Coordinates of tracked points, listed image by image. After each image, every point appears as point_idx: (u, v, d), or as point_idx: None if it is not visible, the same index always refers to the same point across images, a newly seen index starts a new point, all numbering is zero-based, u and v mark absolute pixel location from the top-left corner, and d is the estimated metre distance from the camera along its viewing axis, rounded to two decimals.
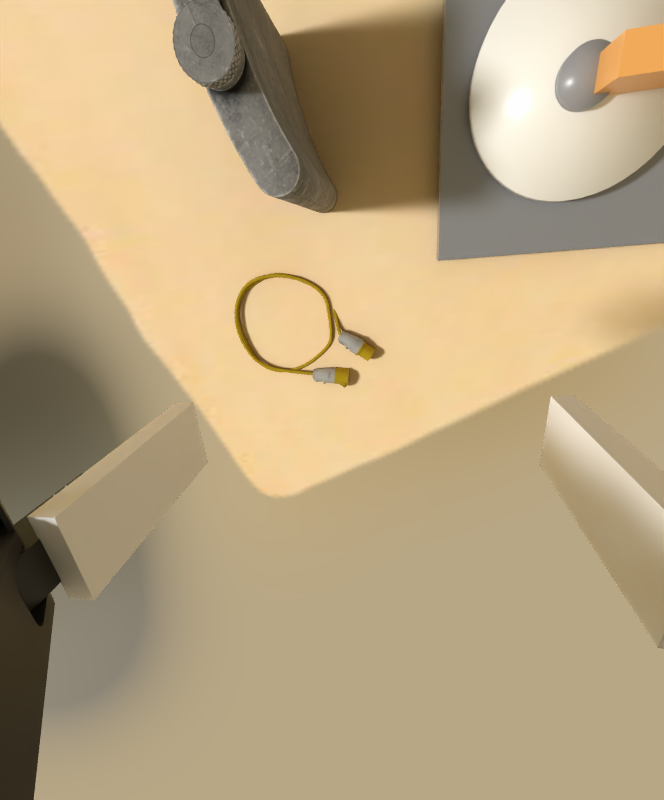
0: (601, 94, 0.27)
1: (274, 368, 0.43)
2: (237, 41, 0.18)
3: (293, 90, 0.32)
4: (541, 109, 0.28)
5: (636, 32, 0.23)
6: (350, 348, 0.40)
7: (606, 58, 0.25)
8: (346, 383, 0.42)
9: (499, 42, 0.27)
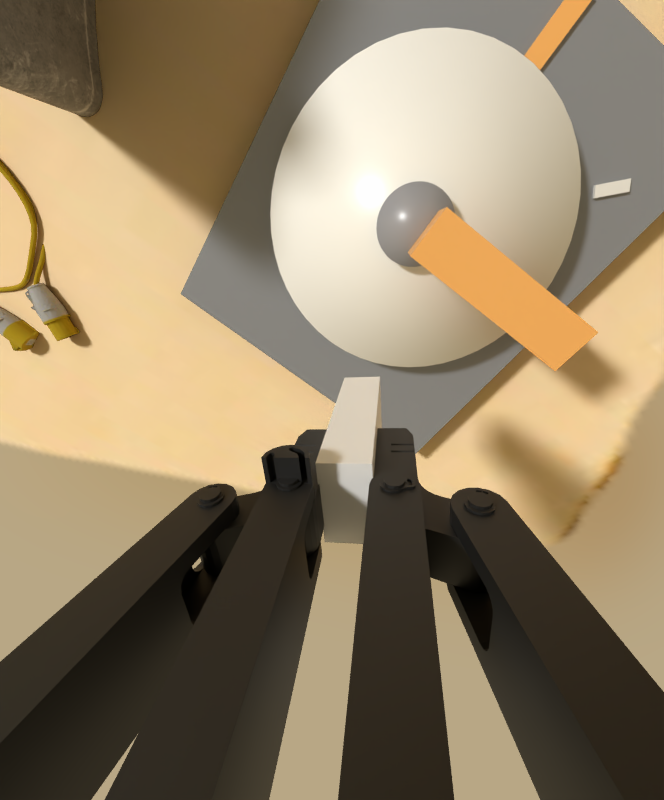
0: (414, 259, 0.20)
1: None
2: None
3: None
4: (356, 219, 0.20)
5: (453, 221, 0.16)
6: (36, 311, 0.27)
7: (431, 223, 0.18)
8: (19, 348, 0.29)
9: (354, 88, 0.18)
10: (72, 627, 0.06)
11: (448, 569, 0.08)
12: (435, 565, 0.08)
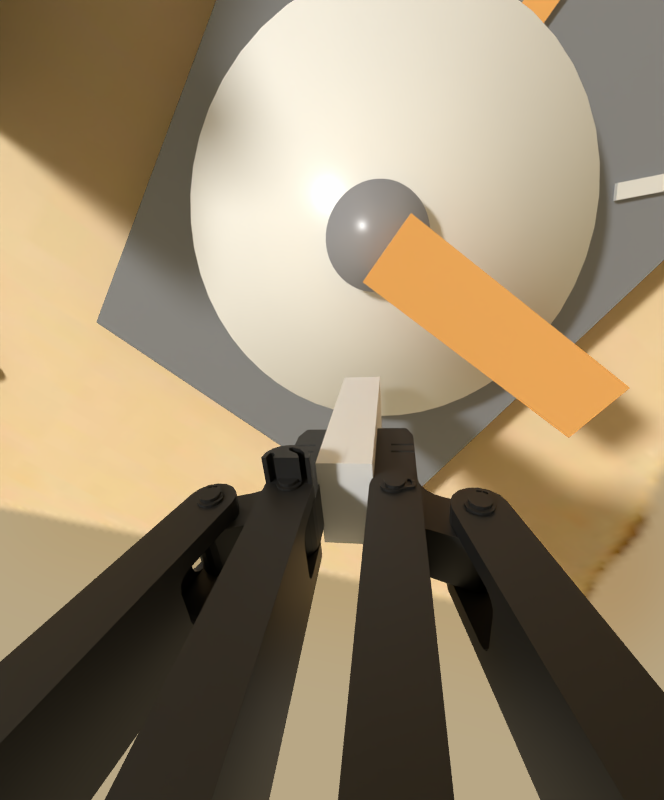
0: None
1: None
2: None
3: None
4: (302, 229, 0.15)
5: (421, 233, 0.11)
6: None
7: None
8: None
9: (288, 52, 0.13)
10: (72, 627, 0.06)
11: (448, 569, 0.08)
12: (435, 565, 0.08)
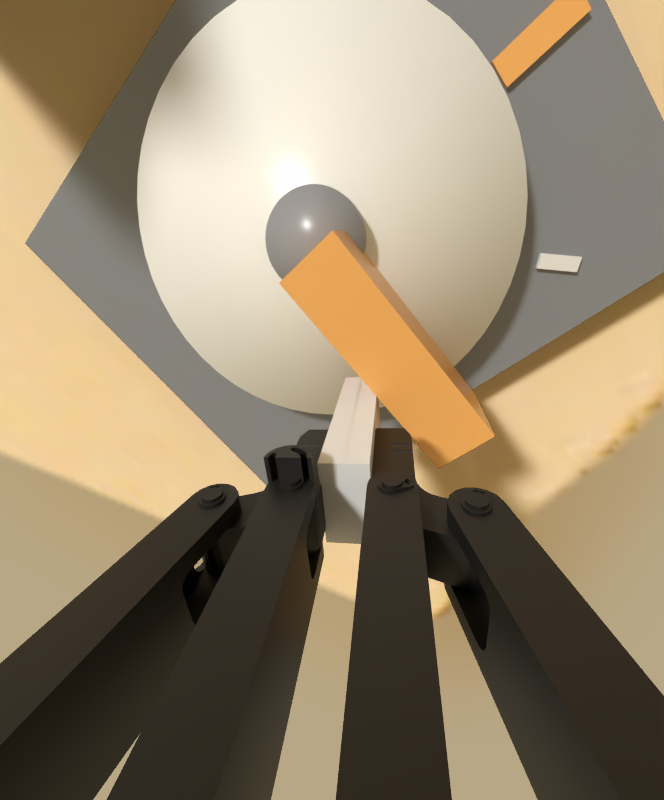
0: None
1: None
2: None
3: None
4: (247, 213, 0.15)
5: (339, 251, 0.12)
6: None
7: None
8: None
9: (262, 33, 0.13)
10: (74, 627, 0.06)
11: (445, 570, 0.08)
12: (432, 565, 0.08)
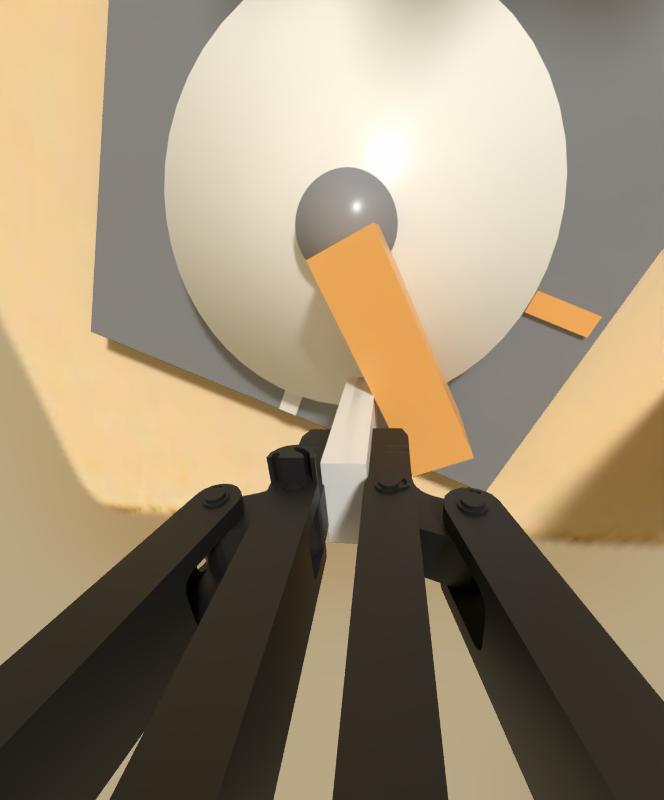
0: None
1: None
2: None
3: None
4: (284, 179, 0.15)
5: (374, 245, 0.11)
6: None
7: None
8: None
9: None
10: (77, 627, 0.06)
11: (441, 569, 0.08)
12: (428, 565, 0.08)
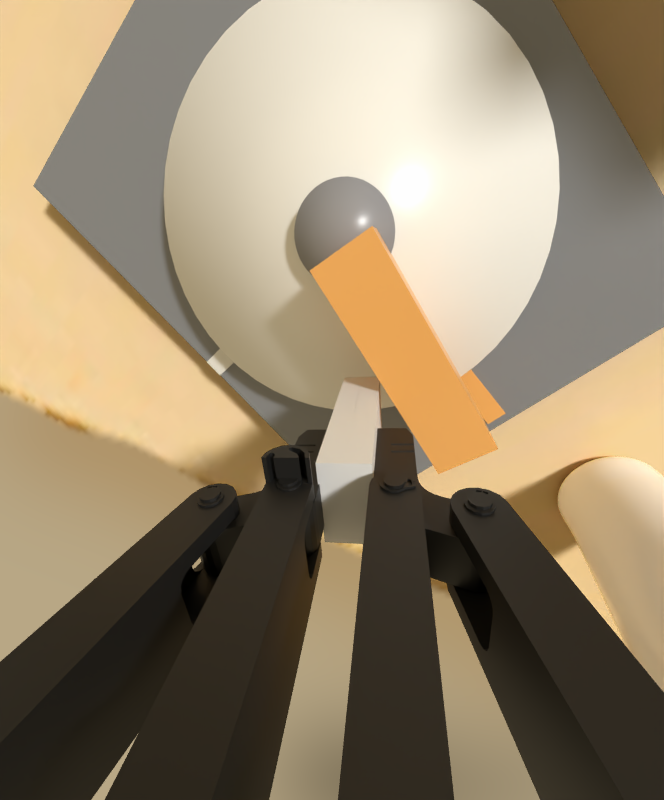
0: None
1: None
2: None
3: None
4: (279, 196, 0.15)
5: (375, 248, 0.12)
6: None
7: None
8: None
9: (321, 16, 0.13)
10: (72, 627, 0.06)
11: (448, 569, 0.08)
12: (435, 566, 0.08)
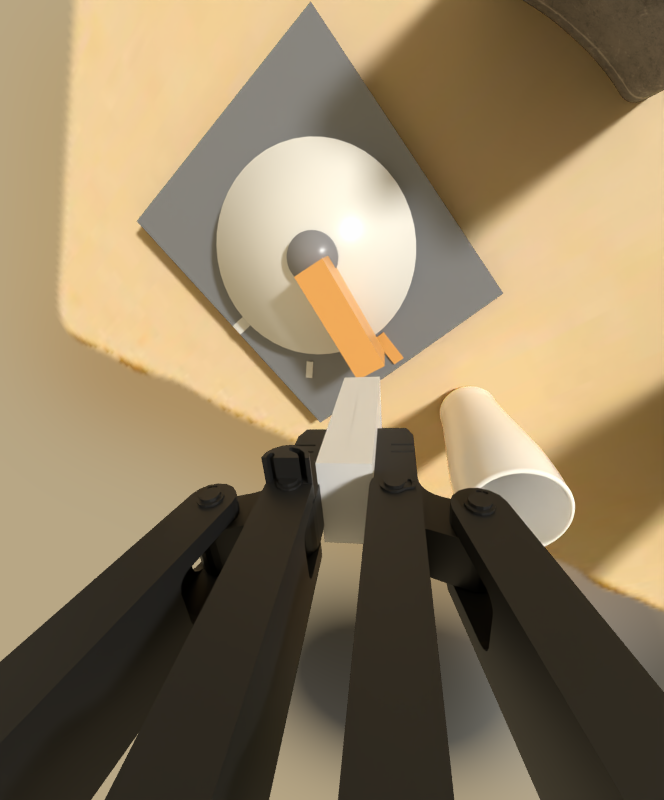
0: None
1: None
2: None
3: (605, 49, 0.23)
4: (279, 236, 0.29)
5: (323, 268, 0.26)
6: None
7: None
8: None
9: (301, 155, 0.26)
10: (72, 627, 0.06)
11: (448, 570, 0.08)
12: (435, 565, 0.08)
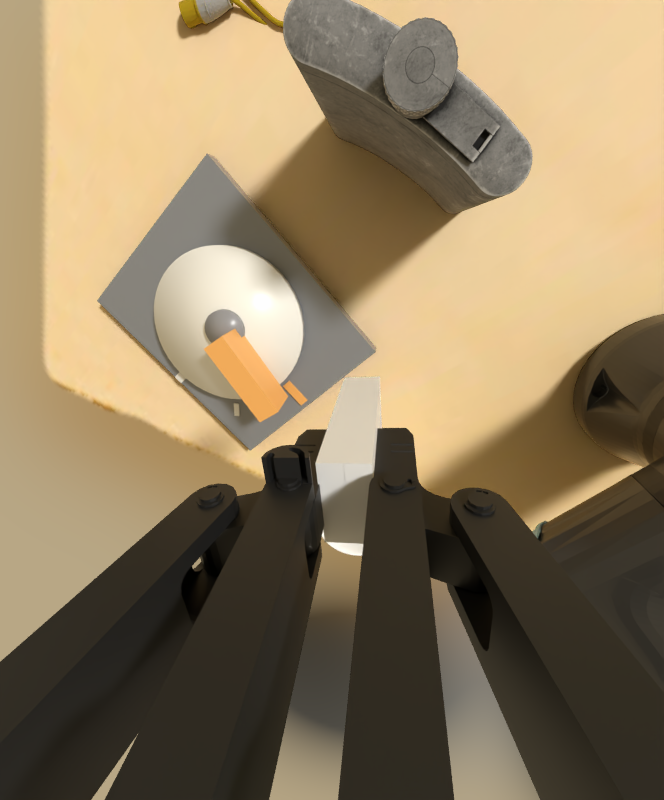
0: None
1: None
2: (389, 99, 0.17)
3: (419, 182, 0.32)
4: (199, 313, 0.38)
5: (223, 342, 0.35)
6: None
7: None
8: None
9: (209, 258, 0.36)
10: (72, 627, 0.06)
11: (448, 569, 0.08)
12: (435, 565, 0.08)
